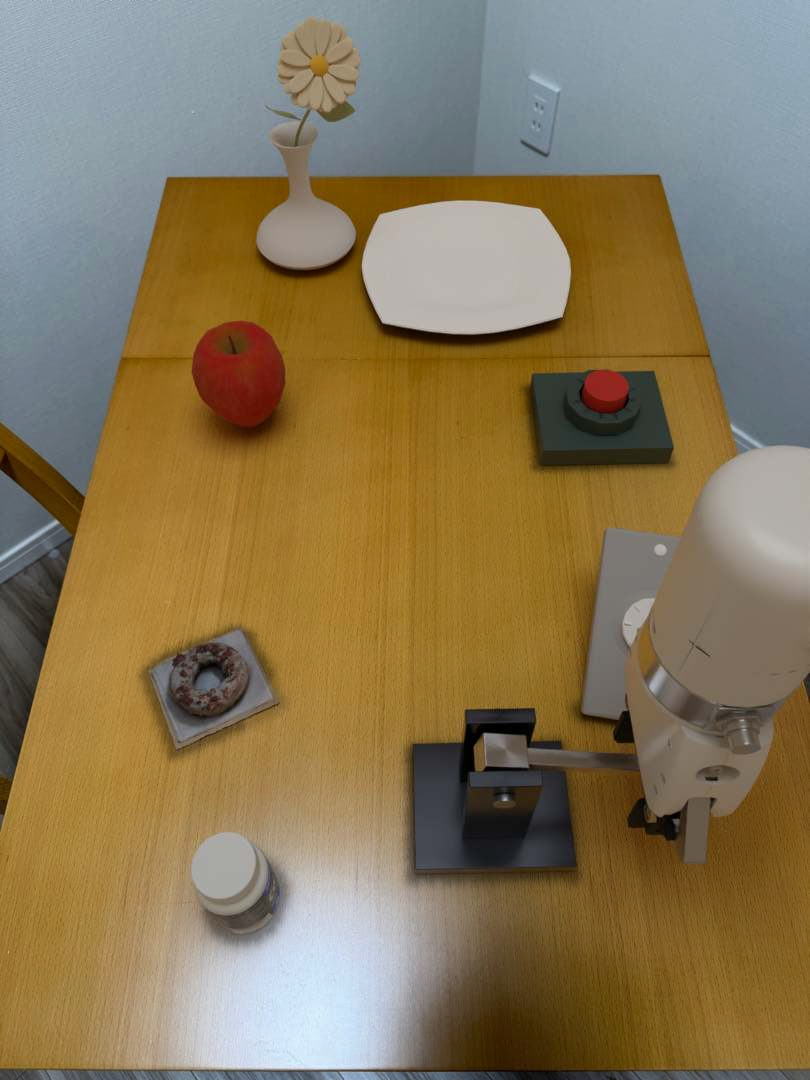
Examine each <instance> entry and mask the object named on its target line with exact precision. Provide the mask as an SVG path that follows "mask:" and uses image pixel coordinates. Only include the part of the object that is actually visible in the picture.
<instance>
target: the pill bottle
mask: <svg viewBox="0 0 810 1080" xmlns="http://www.w3.org/2000/svg"><path fill="white" fill-rule="evenodd" d="M190 874H191V880H192V885H193V891H194V894H195V896H196V898H197V900H198V902H199V903H200V904H201V906H202V907H203V908H204V909H205V910H206V911H207V912H208V913H209V914H210V915H211V917H212V918H213V919H214V920H215V921H216V922H217V923H218V924H219V925H220V926H221V927H222V928H224V929H225V930H227V931H229V932H231V933H233V934H240V935H242V934H243V935H244V934H249V933H253V932H256V931H258V930H260V929H261V928H263V927H264V926H266V925H268V923H269V922H271V920H272V918H273V917H274V915H275V914H276V912H277V909H278V907H279V904H280V900H281V888H280V883H279V880H278V877H277V875H276V873H275V872H274V869H273V867H272V865H271V864H270V862H269V860H268V858H267V856H266V854H265V852H264V850H262V849H261V848H260V847H259V845H257V844H256V843H255V842H254V841H252V840H250V839H248V838H247V837H245V836H243V834H239V833H237V832H233V831H222V832H218V833H215V834H213V835H211V836H209V837H208V838H206V839H205V840H203V842H202V843H201V844H200V845H199V846H198V848H196V850H195V852H194V854H193V857H192V860H191V864H190Z"/></svg>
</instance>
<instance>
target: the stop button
mask: <svg viewBox="0 0 810 1080" xmlns="http://www.w3.org/2000/svg"><path fill="white" fill-rule="evenodd" d="M597 370H598V371H595V372H593V373H591V374H589V375H588V376H587V378H586V380H585V383H584V388H583V392H582V400H583V402H584V404H585V405H586V406H587V407H588V408H589V409H590V410H593V411H595V412H598V413H601V414H610V413H615V412H617V411H619V410H620V409H621V408H622V407H623V406H624V404H625V400H626V397H627V393H628V389H629V386H628V382H627V381H626V379H625V378H624V377H623V376H622V375H620V374H619V373H617V372H618V371H614V370H611V369H608V370H607V369H597ZM610 370H611V371H610Z"/></svg>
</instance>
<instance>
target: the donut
mask: <svg viewBox="0 0 810 1080" xmlns="http://www.w3.org/2000/svg"><path fill="white" fill-rule="evenodd" d="M147 673H148V674H149V678H150V681H151V683H152V686H153V689H154V692H155V694H156V697H157V701H158V703H159V705H160V709H161V712H162V713H163V714H162V715H163V717H164V720H165V722H166V725H167V727H168V728H167V729H168V731H169V733H170V736H171V738H172V742H173V745H174V747H175V750H179V749H182V748H184V747H186V746H189V745H191V744H193V743H195V742H197V741H199V740H201V739H202V738H205V737H206V736H209V735H211V734H212V735H213V734H215V733H216V732H219V731H222V730H223V729H224V728H228V727H230V726H232V725H234V724H236V723H238V722H240V721H242V720H244V719H247V718H249V717H252V716H254V715H255V714H257V713H259V712H261V711H264V710H266V709H270V708H272V707H273V706H275V705H277V704H279V703H280V700H279V698H278V696H277V694H276V692H275V690H274V688H273V686H272V683H271V682H270V679H269V678H268V677H267V673H266V672H265V670H264V668H263V665H262V664H261V661H260V659H259V658H258V656H257V653H256V651H255V650H254V648H253V645H252V643H251V641H250V639H249V637H248V635H247V633H246V632H245V631H244V629H243V628H241V627H237V628H236V629H234V630H231V631H228V632H226V633H224V634H222V635H220V636H216V637H215V638H212V639H210V640H209V641H207V642H204V643H201V644H198V645H196V646H194V647H192V648H189V649H186V650H184V651H182V652H180V653H179V652H176V654H174V655H173V656H170V657H168V658H165V659H163V660H161V661H160V662H159V663H157V664H156V665H155V666H154V667H153V668H150V670H148V671H147Z"/></svg>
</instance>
